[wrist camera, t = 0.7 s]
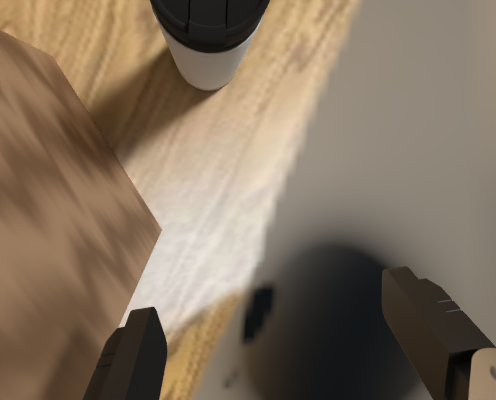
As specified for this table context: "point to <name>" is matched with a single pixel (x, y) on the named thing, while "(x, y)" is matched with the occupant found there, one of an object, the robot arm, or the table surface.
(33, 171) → the bracket
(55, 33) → the table surface
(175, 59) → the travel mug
